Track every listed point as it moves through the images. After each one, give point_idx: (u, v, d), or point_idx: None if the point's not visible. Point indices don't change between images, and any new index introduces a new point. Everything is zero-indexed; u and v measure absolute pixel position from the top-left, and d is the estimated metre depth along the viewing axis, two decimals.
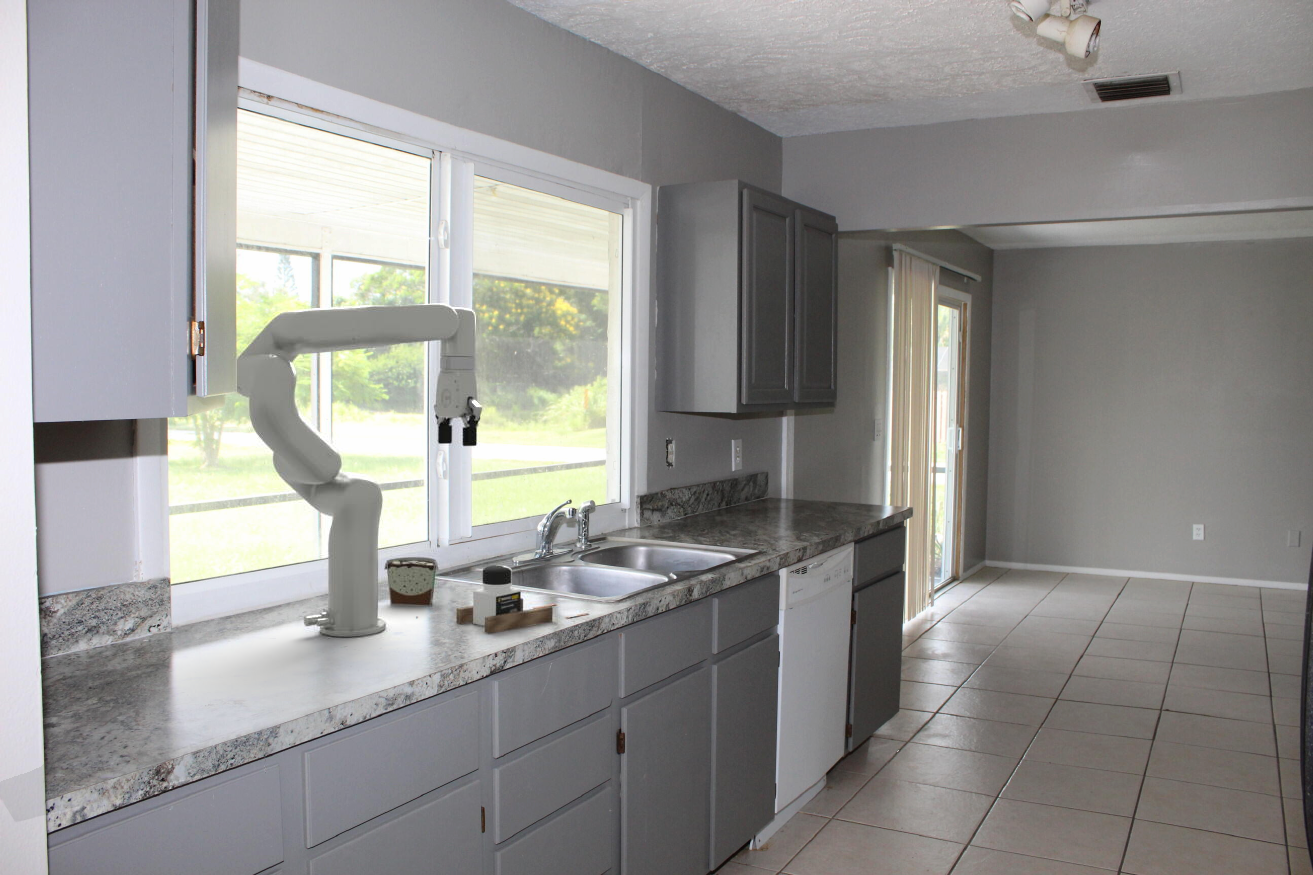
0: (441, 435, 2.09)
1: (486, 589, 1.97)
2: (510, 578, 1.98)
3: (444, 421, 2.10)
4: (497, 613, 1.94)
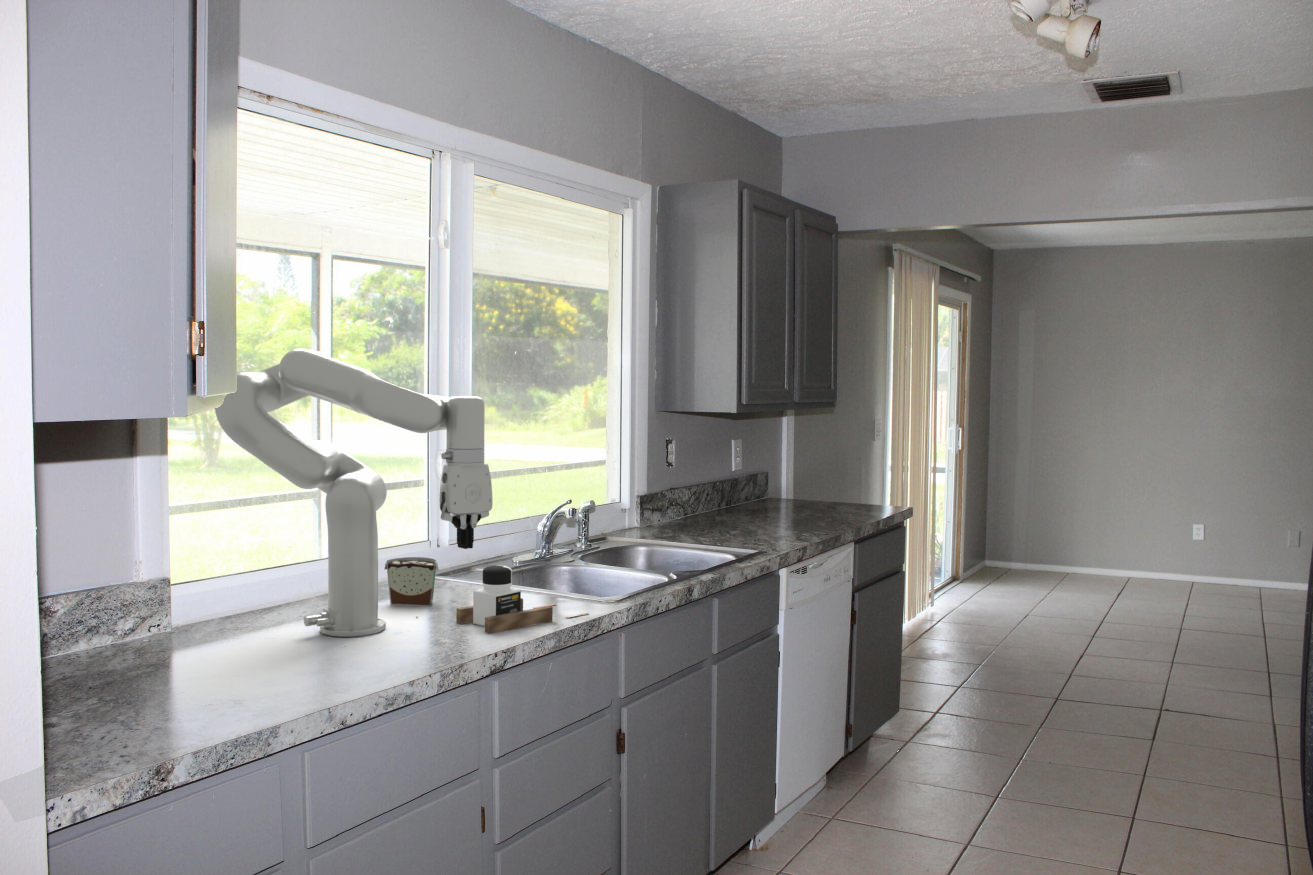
0: None
1: (486, 589, 1.97)
2: (510, 578, 1.98)
3: None
4: (497, 613, 1.94)
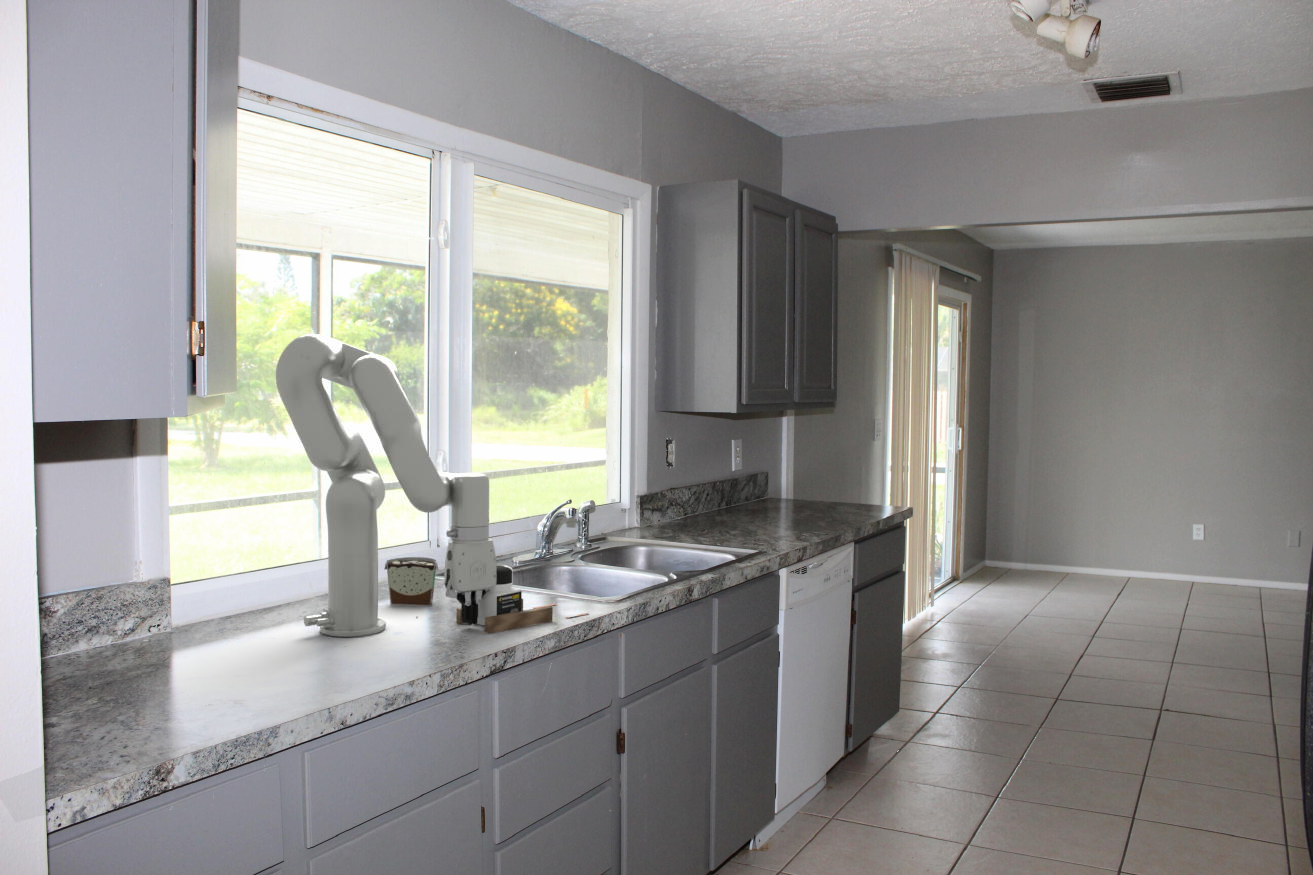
0: None
1: None
2: (511, 578, 1.98)
3: None
4: (498, 613, 1.94)
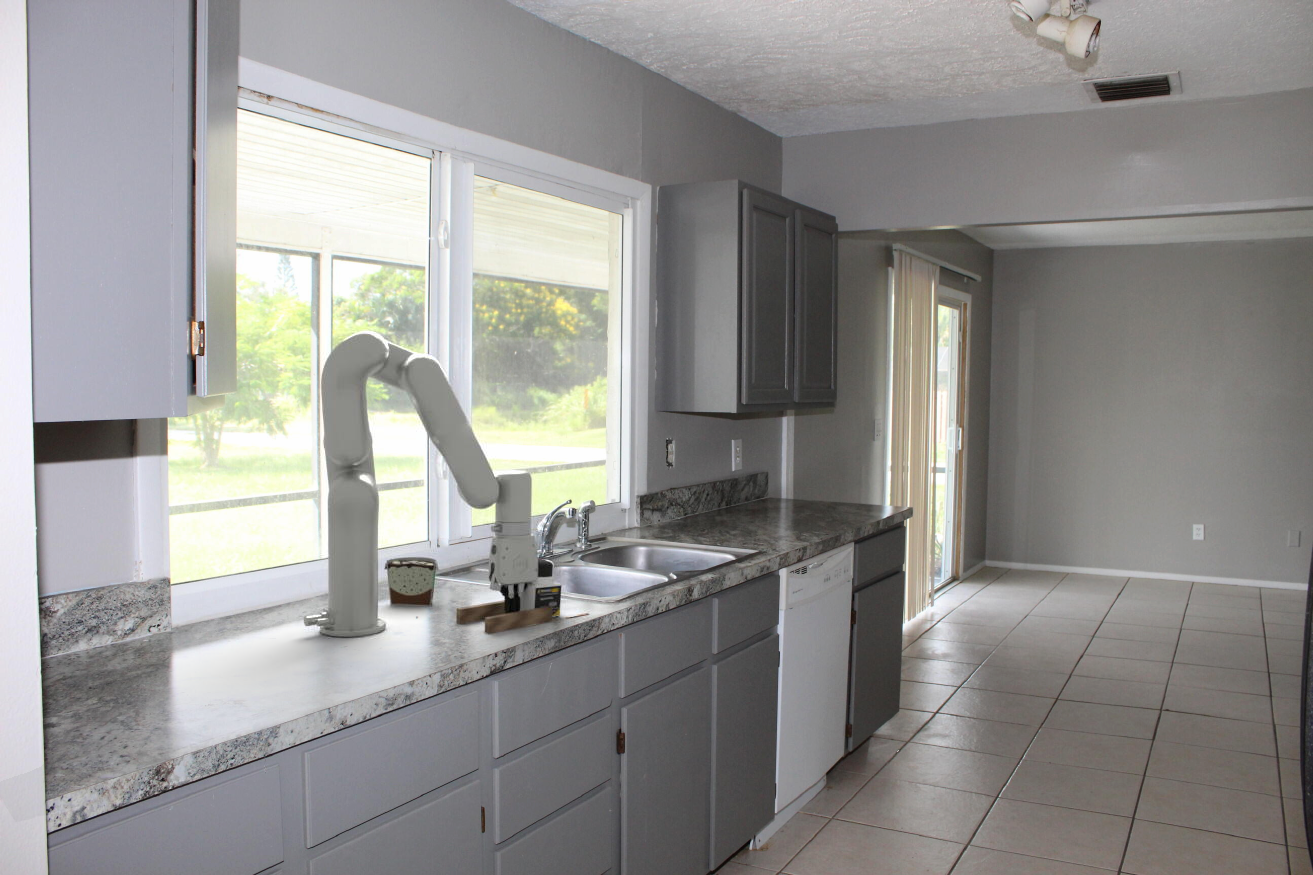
0: None
1: None
2: (551, 572, 2.05)
3: None
4: (536, 604, 2.01)
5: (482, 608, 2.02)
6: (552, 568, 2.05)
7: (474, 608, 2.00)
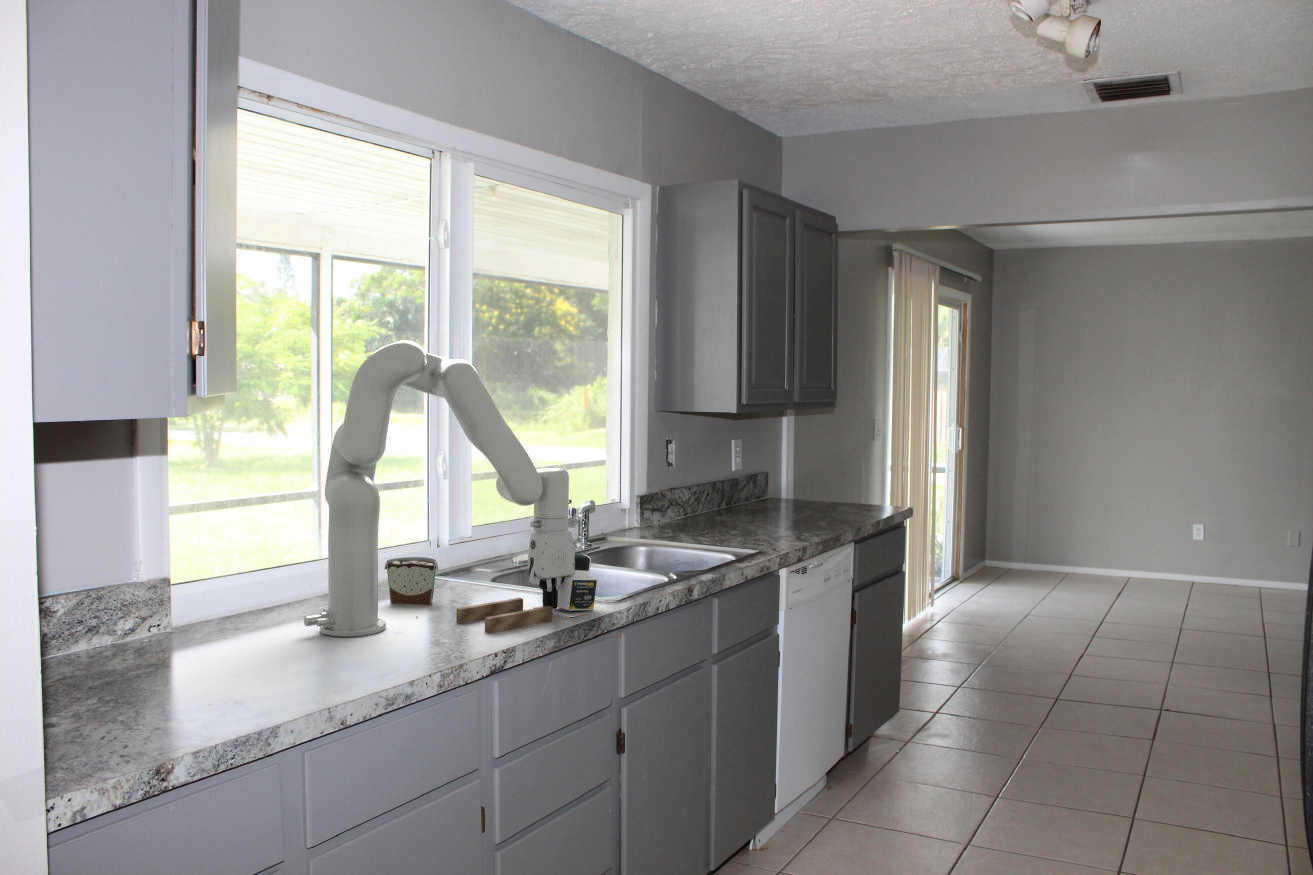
0: None
1: None
2: (588, 566, 2.12)
3: None
4: (572, 595, 2.08)
5: (482, 608, 2.02)
6: (589, 562, 2.12)
7: (474, 608, 2.00)
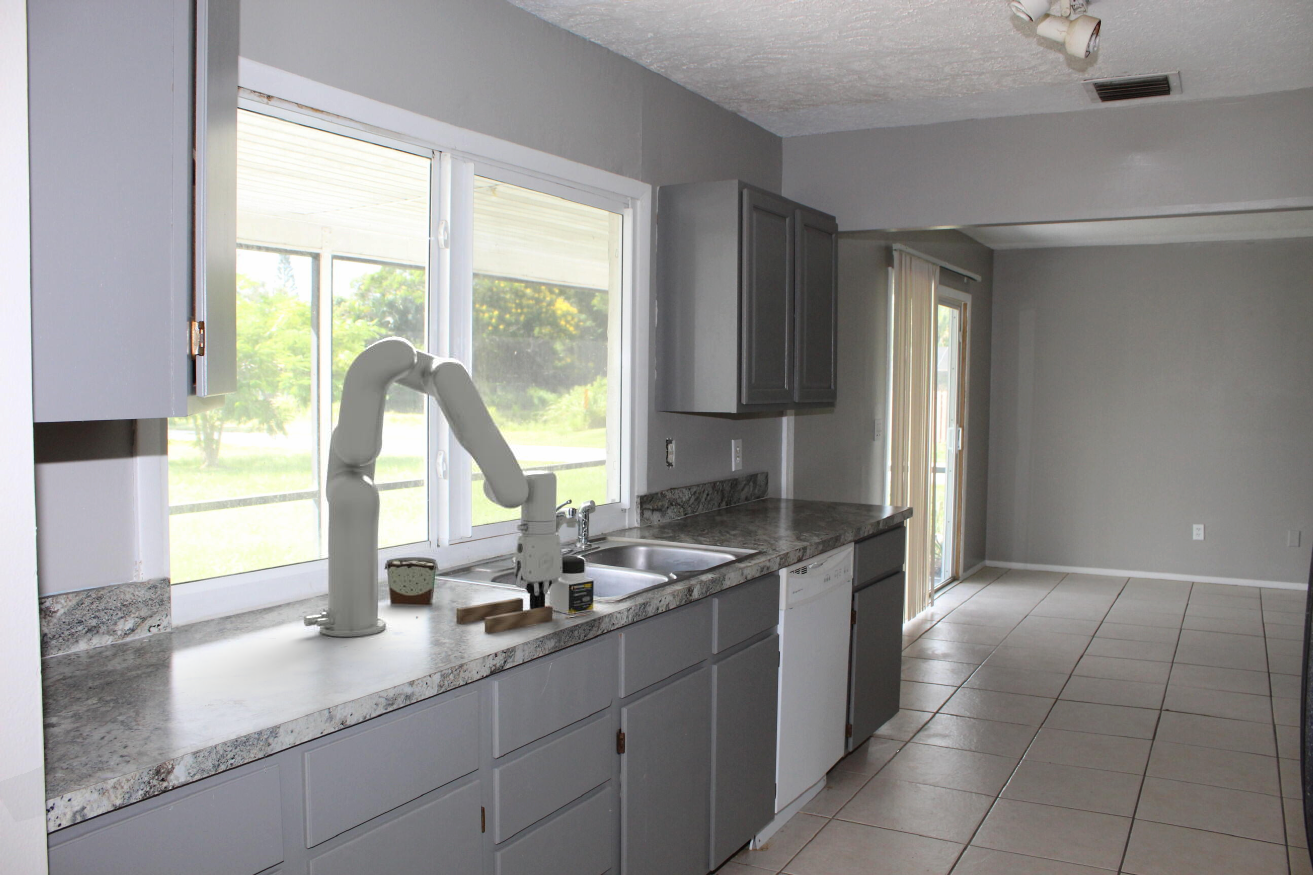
0: None
1: (561, 577, 2.10)
2: (583, 568, 2.11)
3: None
4: (570, 600, 2.07)
5: (482, 608, 2.02)
6: (584, 564, 2.11)
7: (474, 608, 2.00)
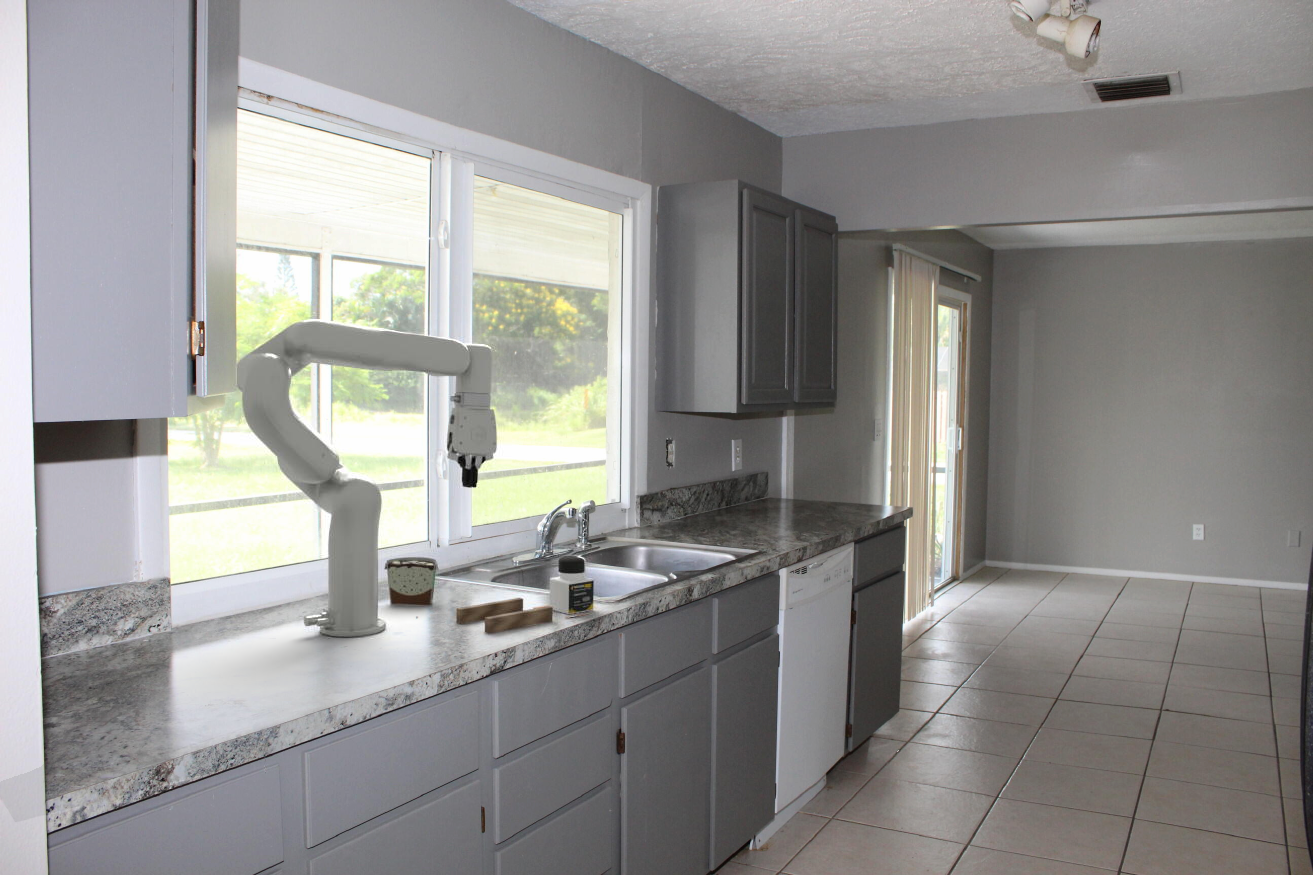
0: None
1: (561, 577, 2.10)
2: (583, 568, 2.11)
3: None
4: (570, 600, 2.07)
5: (482, 608, 2.02)
6: (584, 564, 2.11)
7: (474, 608, 2.00)
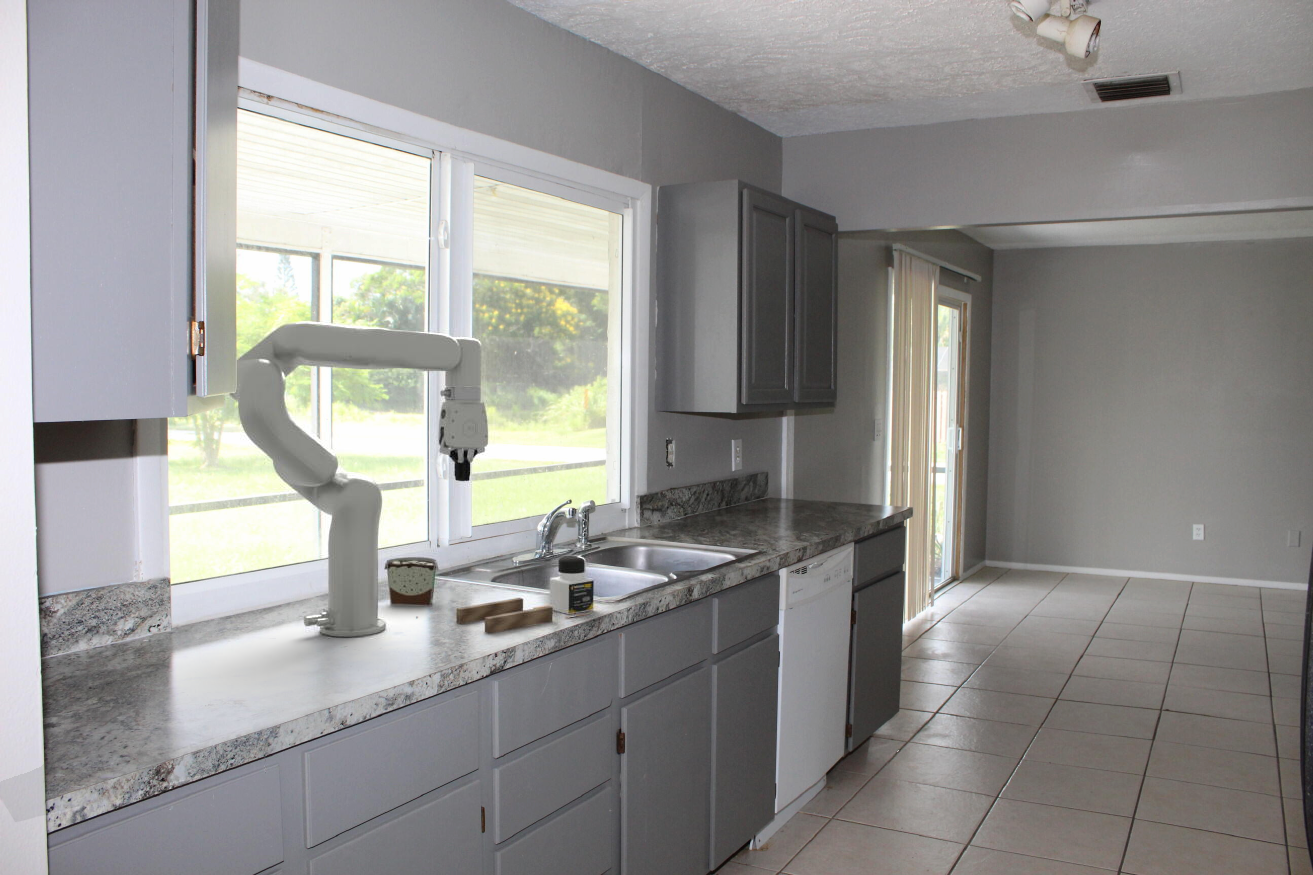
0: None
1: (561, 577, 2.10)
2: (583, 568, 2.11)
3: None
4: (570, 600, 2.07)
5: (482, 608, 2.02)
6: (584, 564, 2.11)
7: (474, 608, 2.00)
